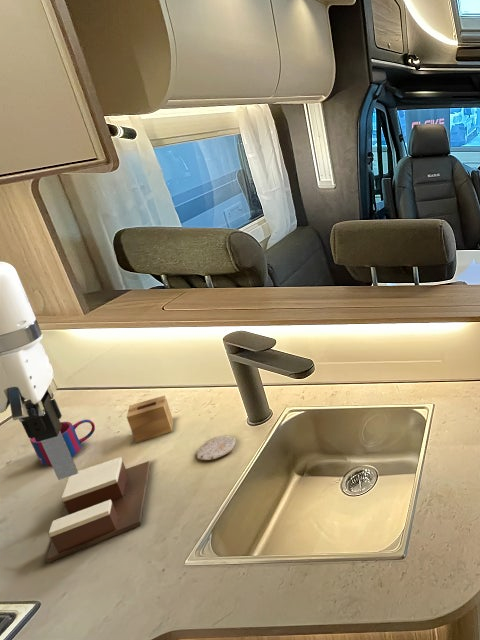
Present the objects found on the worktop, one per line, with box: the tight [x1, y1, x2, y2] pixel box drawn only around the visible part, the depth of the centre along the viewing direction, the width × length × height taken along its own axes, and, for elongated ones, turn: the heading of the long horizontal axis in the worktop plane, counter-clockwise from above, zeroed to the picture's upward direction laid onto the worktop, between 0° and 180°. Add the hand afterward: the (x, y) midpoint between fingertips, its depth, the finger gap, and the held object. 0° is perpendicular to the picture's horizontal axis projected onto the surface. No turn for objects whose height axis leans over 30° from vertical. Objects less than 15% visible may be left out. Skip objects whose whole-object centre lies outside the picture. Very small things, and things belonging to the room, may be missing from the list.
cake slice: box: [48, 500, 118, 552], centre depth 78 cm, size 8×3×5 cm, turn 125°
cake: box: [61, 456, 128, 515], centre depth 87 cm, size 8×7×5 cm
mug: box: [29, 419, 96, 467], centre depth 98 cm, size 7×10×7 cm
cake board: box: [45, 460, 151, 564], centre depth 85 cm, size 13×18×1 cm
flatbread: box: [196, 435, 237, 461], centre depth 100 cm, size 8×8×1 cm
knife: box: [26, 395, 79, 481], centre depth 74 cm, size 3×3×17 cm
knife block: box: [126, 395, 174, 444], centre depth 104 cm, size 7×5×8 cm
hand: (45, 426), depth 73 cm, fingers closed on knife, 3 cm apart
